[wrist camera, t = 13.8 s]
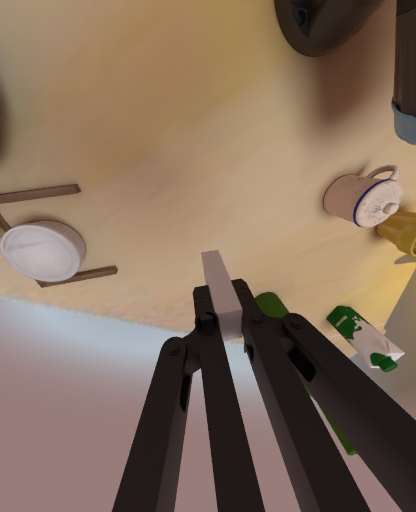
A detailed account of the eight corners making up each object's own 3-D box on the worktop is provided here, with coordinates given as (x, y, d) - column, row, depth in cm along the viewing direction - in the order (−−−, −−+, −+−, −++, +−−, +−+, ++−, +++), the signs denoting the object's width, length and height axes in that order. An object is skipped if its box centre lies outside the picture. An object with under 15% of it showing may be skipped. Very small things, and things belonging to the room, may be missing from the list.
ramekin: (42, 201, 30) (20, 210, 26) (102, 242, 36) (93, 255, 32) (10, 243, 33) (-15, 258, 28) (71, 275, 38) (58, 291, 34)
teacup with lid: (335, 220, 44) (382, 241, 34) (314, 202, 40) (360, 219, 30) (376, 176, 40) (444, 184, 30) (357, 151, 36) (427, 151, 26)
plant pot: (414, 200, 45) (468, 211, 37) (395, 236, 51) (439, 253, 43) (379, 206, 44) (427, 219, 36) (364, 242, 50) (402, 261, 42)
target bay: (-22, 197, 28) (-31, 199, 27) (77, 184, 30) (73, 185, 29) (45, 283, 38) (41, 287, 37) (117, 269, 40) (116, 273, 38)
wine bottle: (266, 314, 59) (350, 458, 31) (245, 309, 55) (320, 465, 28) (283, 296, 55) (394, 439, 28) (262, 288, 52) (366, 444, 25)
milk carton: (337, 303, 63) (398, 359, 46) (354, 305, 66) (417, 359, 49) (322, 320, 67) (374, 377, 50) (339, 321, 70) (392, 375, 53)
